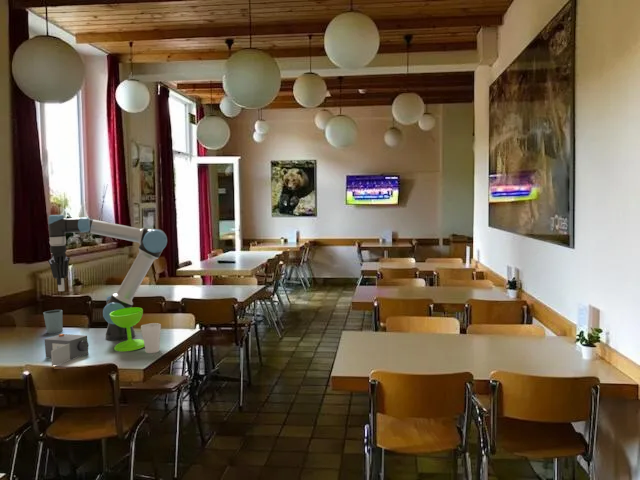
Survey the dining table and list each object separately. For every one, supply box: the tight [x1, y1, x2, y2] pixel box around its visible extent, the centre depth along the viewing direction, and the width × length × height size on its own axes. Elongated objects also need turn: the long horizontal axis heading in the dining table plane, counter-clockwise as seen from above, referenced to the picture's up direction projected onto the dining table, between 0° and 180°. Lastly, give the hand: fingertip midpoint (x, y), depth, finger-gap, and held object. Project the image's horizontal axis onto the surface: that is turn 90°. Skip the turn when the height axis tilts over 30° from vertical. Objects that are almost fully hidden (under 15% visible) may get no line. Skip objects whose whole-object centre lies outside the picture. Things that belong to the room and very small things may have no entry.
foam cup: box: [140, 322, 162, 354], centre depth 284 cm, size 10×9×13 cm
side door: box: [50, 343, 71, 366], centre depth 268 cm, size 14×1×8 cm, turn 171°
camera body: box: [43, 333, 89, 361], centre depth 283 cm, size 18×11×10 cm, turn 67°
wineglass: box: [110, 306, 145, 352], centre depth 293 cm, size 16×16×18 cm
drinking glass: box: [42, 309, 64, 334], centre depth 340 cm, size 10×10×12 cm
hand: (61, 290), depth 298 cm, fingers closed
